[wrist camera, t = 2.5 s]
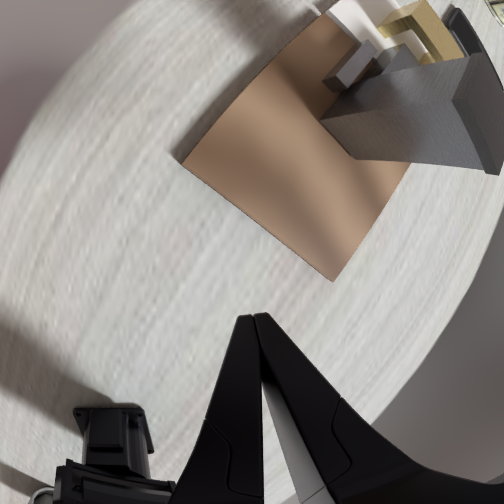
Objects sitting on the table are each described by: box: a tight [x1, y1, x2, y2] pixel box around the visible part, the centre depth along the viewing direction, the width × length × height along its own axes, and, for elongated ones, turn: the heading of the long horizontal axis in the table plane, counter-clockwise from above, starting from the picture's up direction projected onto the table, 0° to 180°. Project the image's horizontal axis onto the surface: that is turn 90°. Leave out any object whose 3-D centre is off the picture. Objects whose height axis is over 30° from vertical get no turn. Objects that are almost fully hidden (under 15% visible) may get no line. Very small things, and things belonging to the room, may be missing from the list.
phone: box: [444, 8, 504, 92], centre depth 24 cm, size 8×1×15 cm
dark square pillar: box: [319, 43, 504, 176], centre depth 14 cm, size 10×4×12 cm, turn 140°
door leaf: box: [181, 12, 411, 282], centre depth 20 cm, size 16×14×1 cm
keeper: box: [376, 0, 464, 65], centre depth 17 cm, size 4×6×4 cm, turn 50°
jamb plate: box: [325, 0, 428, 63], centre depth 19 cm, size 9×14×1 cm, turn 50°
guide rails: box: [322, 39, 378, 93], centre depth 18 cm, size 5×7×2 cm
